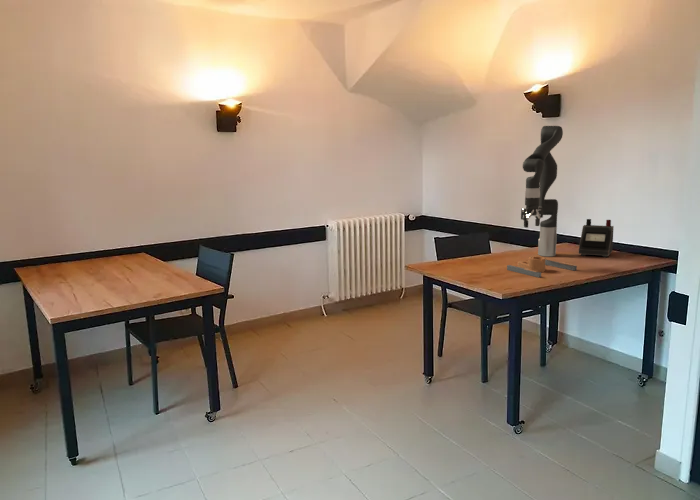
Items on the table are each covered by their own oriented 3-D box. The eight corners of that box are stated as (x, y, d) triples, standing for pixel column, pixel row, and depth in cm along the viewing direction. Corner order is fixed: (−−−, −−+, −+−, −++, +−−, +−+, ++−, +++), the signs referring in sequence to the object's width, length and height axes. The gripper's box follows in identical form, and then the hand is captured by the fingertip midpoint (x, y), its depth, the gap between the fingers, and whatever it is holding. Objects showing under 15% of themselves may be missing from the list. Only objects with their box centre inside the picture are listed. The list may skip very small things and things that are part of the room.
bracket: (548, 271, 287) (548, 258, 286) (534, 273, 285) (535, 260, 284) (527, 265, 304) (527, 252, 303) (514, 266, 302) (514, 254, 300)
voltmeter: (578, 256, 322) (579, 222, 319) (583, 251, 336) (584, 218, 333) (608, 258, 314) (610, 223, 310) (612, 253, 328) (613, 219, 324)
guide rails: (506, 269, 293) (507, 264, 293) (543, 263, 306) (543, 258, 305) (538, 277, 274) (539, 272, 273) (576, 270, 286) (576, 265, 286)
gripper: (536, 195, 301) (535, 224, 304) (517, 197, 294) (516, 227, 297) (547, 196, 295) (546, 226, 298) (528, 197, 288) (527, 228, 291)
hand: (531, 226), depth 298 cm, fingers open, 8 cm apart
